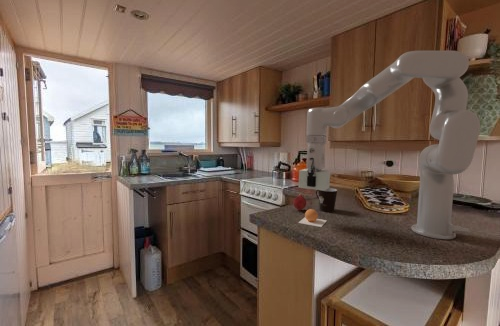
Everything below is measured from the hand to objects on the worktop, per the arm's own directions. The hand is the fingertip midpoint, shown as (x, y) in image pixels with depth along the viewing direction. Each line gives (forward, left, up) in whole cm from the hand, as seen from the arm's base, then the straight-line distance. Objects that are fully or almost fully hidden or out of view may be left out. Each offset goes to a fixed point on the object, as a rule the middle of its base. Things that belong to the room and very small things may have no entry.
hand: (314, 184), depth 96 cm
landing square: (0, 0, -15) cm, 15 cm away
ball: (+1, 0, -13) cm, 13 cm away
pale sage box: (0, 0, -1) cm, 1 cm away
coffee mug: (0, -22, -15) cm, 27 cm away
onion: (+10, -13, -15) cm, 23 cm away
